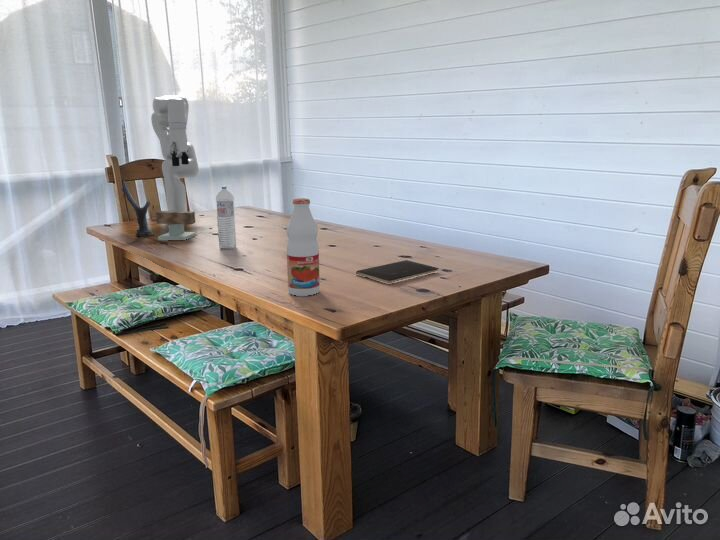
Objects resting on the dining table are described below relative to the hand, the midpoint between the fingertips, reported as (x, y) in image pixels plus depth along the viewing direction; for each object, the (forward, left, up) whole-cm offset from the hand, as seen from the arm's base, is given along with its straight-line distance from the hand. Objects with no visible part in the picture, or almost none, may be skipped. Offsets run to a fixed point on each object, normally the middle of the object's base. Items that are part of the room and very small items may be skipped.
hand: (180, 165), depth 266 cm
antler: (+16, -14, -31) cm, 37 cm away
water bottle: (+36, +34, -31) cm, 58 cm away
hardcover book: (+68, +105, -31) cm, 129 cm away
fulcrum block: (+18, +4, -30) cm, 35 cm away
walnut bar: (+18, +4, -24) cm, 30 cm away
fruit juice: (+93, +79, -31) cm, 126 cm away
